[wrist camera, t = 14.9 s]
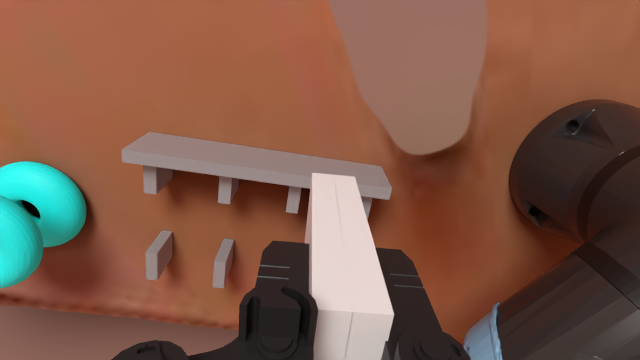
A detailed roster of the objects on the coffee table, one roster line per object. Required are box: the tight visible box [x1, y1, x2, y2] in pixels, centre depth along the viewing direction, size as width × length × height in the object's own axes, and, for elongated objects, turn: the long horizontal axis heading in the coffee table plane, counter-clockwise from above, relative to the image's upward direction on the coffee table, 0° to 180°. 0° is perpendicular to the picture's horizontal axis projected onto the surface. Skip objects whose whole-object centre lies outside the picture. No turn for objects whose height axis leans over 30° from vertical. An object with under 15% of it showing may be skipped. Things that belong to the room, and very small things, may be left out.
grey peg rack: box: [122, 132, 392, 288], centre depth 39 cm, size 25×16×6 cm, turn 81°
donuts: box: [0, 162, 86, 288], centre depth 36 cm, size 10×10×10 cm
